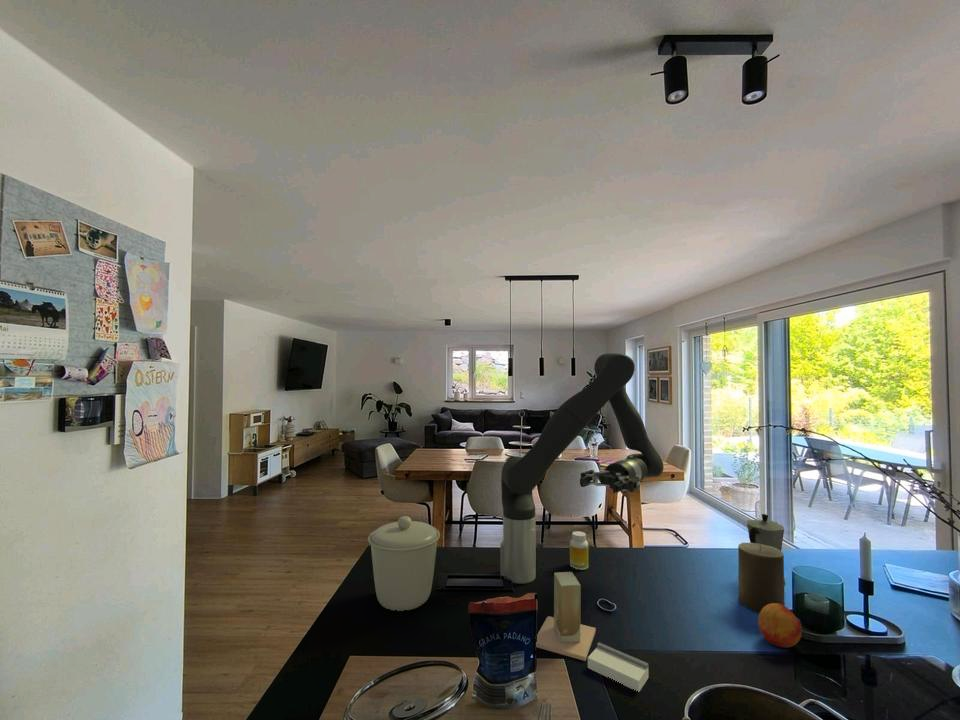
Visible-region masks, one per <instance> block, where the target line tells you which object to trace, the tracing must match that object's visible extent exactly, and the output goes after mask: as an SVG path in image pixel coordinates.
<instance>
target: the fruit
mask: <svg viewBox="0 0 960 720" xmlns="http://www.w3.org/2000/svg"><path fill="white" fill-rule="evenodd" d="M757 625H758V628H759V631H760V633H761V635H762V636H763V637H764V639H765V640H766V641H767V643H770V644H771V645H773V646H775V647H779V648H786V649H787V648H791V647H794V646H795V645H797V644H798V643H799V641H801V637H802V633H803V632H802V631H803V630H802V629H803V628H802V623H801V621H800V619H799V618H798V617H797V616H795V614H794V613H793V611H791V610H790V609H789V608H788V607H787V606H786V605H785V606H784V605H782V604H779V603H771V604H768V605H766V606H764V607H763V609H762V610H761V612H760V613H759V614H758V617H757Z"/></svg>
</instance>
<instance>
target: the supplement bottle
mask: <svg viewBox="0 0 960 720" xmlns="http://www.w3.org/2000/svg"><path fill="white" fill-rule="evenodd" d="M571 535H572V536H571V537H572V539H571V540H570V541H569V566H570V567H571V568H572V567H573V568H572V569H574V568H575V569H574V570H578V569H579V570H581V571H583V570H587V569H589V542H588V541H587V537H586V536H587V535H586V533H585V532H583V531H572V533H571Z"/></svg>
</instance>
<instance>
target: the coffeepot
mask: <svg viewBox="0 0 960 720" xmlns="http://www.w3.org/2000/svg"><path fill="white" fill-rule="evenodd" d="M761 518H762V519H748V520H746V527H747V531H748V539H749V543H758V544H763V545H767V546H771V547H774V548H777V549H778V550H780V551H781V552H782V547H783V540H784V534H785V528H784V525H782V524H779V523H778V521H773V520H771V519H770V520H768V518H769V515H768V514H767V513H762V514H761ZM784 585H786V579H785V578H784Z"/></svg>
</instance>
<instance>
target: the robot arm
mask: <svg viewBox="0 0 960 720" xmlns="http://www.w3.org/2000/svg"><path fill="white" fill-rule="evenodd" d="M593 368H594V373H595V378H594V379H593V380H592V381H591V383H590V384H588V385H587V386H586V387H585V388H583V389H582V390H580V391H579V392H577V393H575V394H574V395H572V396H570V397H569V398H568V399H567V400H566V401H564V402H563V403H562V404H561V405H560V406H559V407H558V408H557V410H555V412H554V413H553V414H552V415H551V416H550V418H549V419H548V420H547V421H546V423H545V426H544V427H543V429H542V430H541V433H540V435H539V437H538V439H537V441H535V443H534V445H533V446H532V447H531V448H530V450H528V452H526V453H525V454H524V455H523V456H522V457H519V456H513V457H511V458H509V459H507V460H506V461H505V463H504V464H503V465H502V469H501V476H500V478H501V479H500V482H501V486H500V488H501V489H500V490H501V504H502V517H503V518H502V519H503V520H502V524H503V525H502V526H503V529H502V530H503V531H502V532H503V533H502V538H503V539H502V541H501V542H500V576H501V575H502V576H506V577H508V578H509V579H511V580H512V581H513V582H512V584H513V583H514V584H529V583H531V582H533V581H535V579H536V576H537V575H536V572H537V571H536V568H537V567H536V562H537V561H536V558H537V557H536V506H535V502H534V495H533V491H534V489H535V488H536V487H537V485H538V484H539V483H540V481H542V479H543V477H544V476H545V474H546V473H547V471H548V470H549V469H550V468H551V466H552V465H553V463H555V461H556V460H557V459H558V457H560V456H561V454H562V453H564V451H566V449H567V448H568V447H569V446H570V445H571V443H573V442H574V440H575V439H576V438H577V437H578V436H579V435H580V434H581V433H582V432H583V430H584V429H585V428H586V427H587V426H588V424H589V423H590V422H591V421H592V420H593V419H594V418H595V417H596V415H597V414H598V413H599V411H601V410H602V409H603V407H604V406H605V405H606V404H607V402H608V401H609V404H610V406H611V409H612V411H613V413H614V416H615V417H616V421H617V424H618V427H619V430H620V433H621V436H622V439H623V442H624V445H625V447H626V448H627V449H628V450H631V451H637V452H638V453H633V454H629V455H627V457H626V458H625V459H620V460H617V461H614V462H612V463H610V464H608V465H607V466H606V467H605V469H604V470H602V471H595V470H594V469H590V470H587V471H584V472H580V478H579V485H580V487H581V488H585V487H589V486H590V485H593V486H595V487H602V486H603V487H604V486H605V487H608V488H609V489H610V490H612V493H613V494H618V493H620V492H627V490H628V492H630V493H633V492H635V491H636V490H638V489H640V485H641V481H643V480H644V479H646V478H650V477H651V478H652V477H653V478H654V477H659V476H661V475H662V474H663V472H664V461H663V459H662V457H661V455H660V454H659V453H658V451H657V449H655V447H654V445H653V444H652V442H651V440H650V439H649V436H648V433H647V430H646V427H645V423H644V421H643V419H642V417H641V415H640V413H639V411H638V409H636V407H635V405H634V403H633V402H632V400H631V398H630V397H629V395H628V393H627V391H626V388H625V386H626V385H627V384H628V383H629V382H630V381H631V379H632V378H633V376H634V374H635V370H636V368H635V363H634V360H633V359H632V358H631V357H630V356H629V355H627V354H625V353H624V354H623V353H615V352H612V353H603V354H601V355H599V356H598V357H597V359H596V360H595V363H594V367H593ZM639 452H640V453H639Z"/></svg>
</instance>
